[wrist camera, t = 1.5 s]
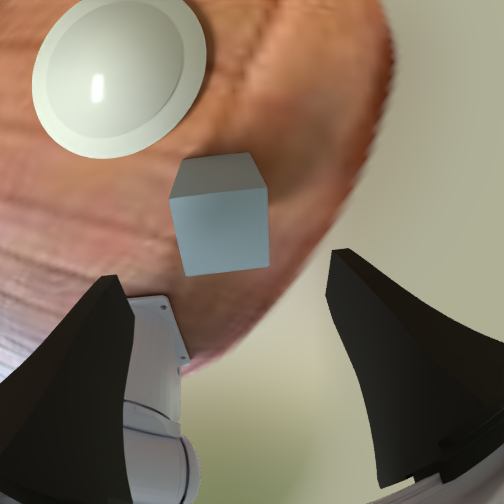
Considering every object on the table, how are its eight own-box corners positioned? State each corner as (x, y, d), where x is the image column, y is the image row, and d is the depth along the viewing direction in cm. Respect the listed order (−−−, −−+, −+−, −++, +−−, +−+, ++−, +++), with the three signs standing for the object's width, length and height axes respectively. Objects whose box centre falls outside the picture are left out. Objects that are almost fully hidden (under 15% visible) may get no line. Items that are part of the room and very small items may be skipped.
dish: (213, 138, 16) (214, 142, 15) (55, 170, 15) (47, 176, 14) (202, -27, 9) (201, -34, 9) (36, 24, 9) (27, 22, 8)
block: (252, 211, 18) (269, 266, 14) (191, 218, 18) (185, 276, 13) (249, 152, 16) (267, 187, 11) (182, 159, 16) (168, 199, 11)
